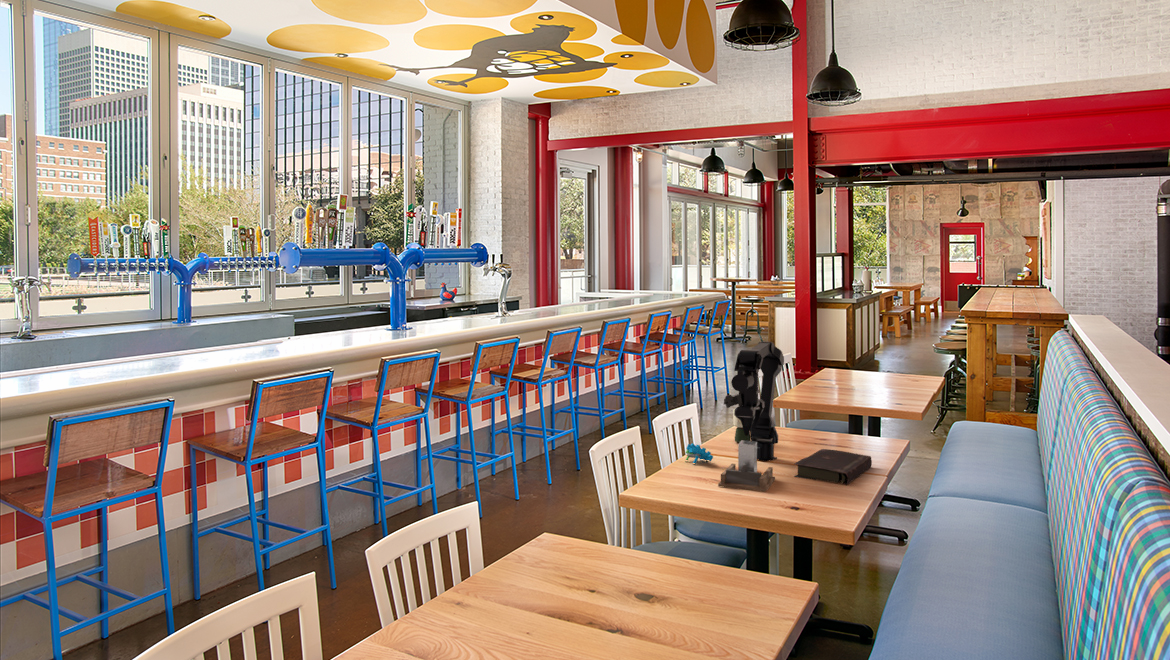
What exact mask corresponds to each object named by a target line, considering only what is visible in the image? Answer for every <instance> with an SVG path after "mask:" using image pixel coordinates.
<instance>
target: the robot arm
mask: <svg viewBox="0 0 1170 660" xmlns="http://www.w3.org/2000/svg"><path fill="white" fill-rule="evenodd" d="M784 364H785V356H784V354H783V351H782V350H781V349H779V348H778V347H777V346H776V345H775V343H774V342H772V341H760V342H758V344H756V345H755V346H754V347H752V348H749V349H741V350H740V351H739V352H738V353H737V356H736V361H735V364H734V368H733V369H734V372H736V374H735V375H734V376H733V377H732V378H731V386H732V388H733V389H734V391H736V392H738V393H736V394H734V395H732V394H729V395H726V396H725V397H724V398H723V405H725V407H726V408H727V409H729V408H731V407H733V406H736V405H737V407H736V408H734V409H735V410H734V409H733V411H734V416H736V417H737V418H738V419H739V420H741V423H742V426H743V430H744V434H745V435H746V436H748V435H749V432H750V437H751V441H757V459H759V460H758V461H761V460H762V461H761V462H770V461H774V460H777V459H778V457H777V456H775V452H774V451H775V447H774V446H775V444H779V433H778V431H777V429H776V423H775V421H774V419H773V417H772V416H773V415H772V413H773V406H774V405H773V404H774V397H775V396H774V395H775V390H776V389H775V388H776V381H777V377H778V375H779V374H780V373H781V372H782V369H783V366H784ZM760 371H761V372H762V380H761V381H762V383H761V389H759V372H760ZM759 393H760V396H759ZM759 397H760V398H759ZM773 459H774V460H773ZM769 460H770V461H769Z"/></svg>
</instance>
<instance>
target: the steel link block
mask: <svg viewBox="0 0 1170 660" xmlns="http://www.w3.org/2000/svg"><path fill="white" fill-rule="evenodd" d="M737 445H738V446H737V449H738V450H737V451H738V455H737V458H738V459H737V460H738V461H737V462H738V467H737V468H738V469H737V470H739V471H741V465H743V464H744V465H747V471H749V472H758V460H757V441H744V440H741V441H740V442H738V444H737Z"/></svg>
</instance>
